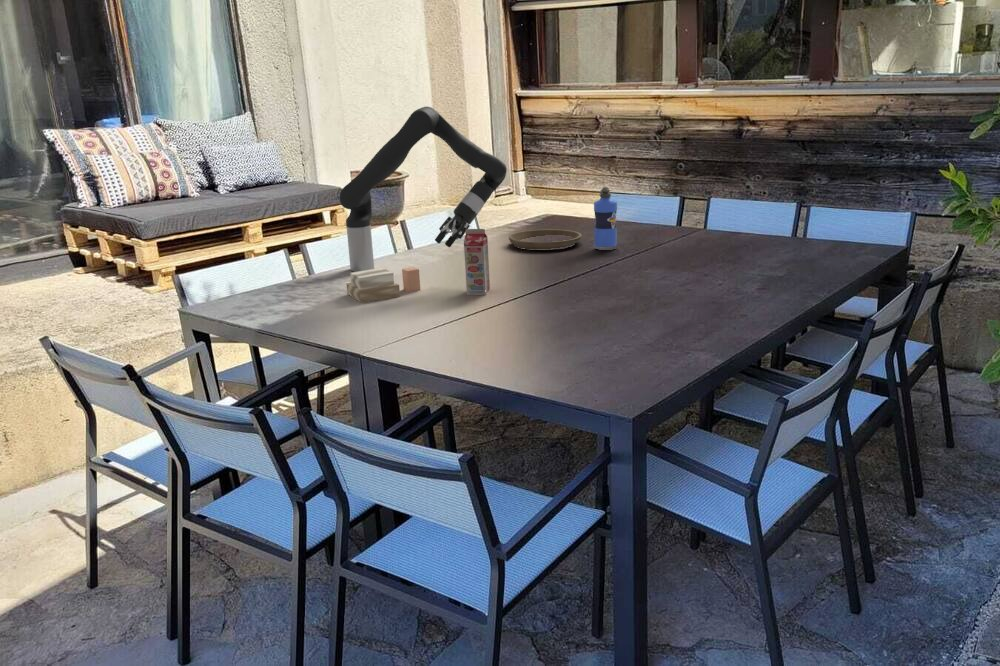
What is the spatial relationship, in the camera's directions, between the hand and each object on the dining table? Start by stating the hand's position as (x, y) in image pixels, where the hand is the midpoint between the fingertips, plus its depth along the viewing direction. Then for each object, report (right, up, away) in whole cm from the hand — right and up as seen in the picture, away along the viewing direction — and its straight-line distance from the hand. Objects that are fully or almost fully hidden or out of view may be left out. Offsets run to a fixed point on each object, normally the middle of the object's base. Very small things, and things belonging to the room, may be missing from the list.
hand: (441, 243), depth 309 cm
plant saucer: (+40, +6, +64) cm, 75 cm away
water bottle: (+64, +3, +51) cm, 82 cm away
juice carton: (+13, -18, -9) cm, 24 cm away
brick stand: (-23, -18, -7) cm, 30 cm away
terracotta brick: (-10, -16, -1) cm, 19 cm away
